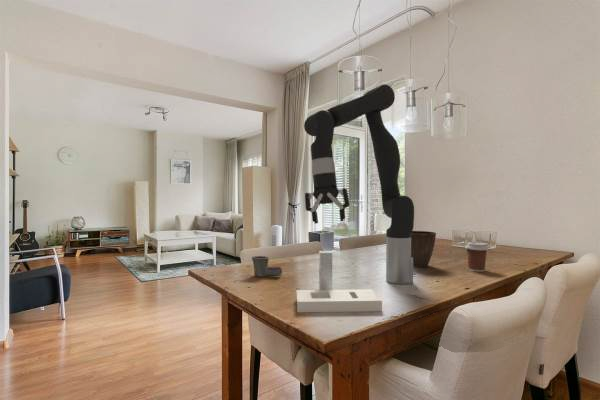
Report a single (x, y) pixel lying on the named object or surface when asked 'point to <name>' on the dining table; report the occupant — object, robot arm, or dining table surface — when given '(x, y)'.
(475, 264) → the coffee cup
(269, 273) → the pipe
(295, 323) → the dining table surface
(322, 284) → the gray square peg
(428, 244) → the plant pot
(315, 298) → the socket plank
